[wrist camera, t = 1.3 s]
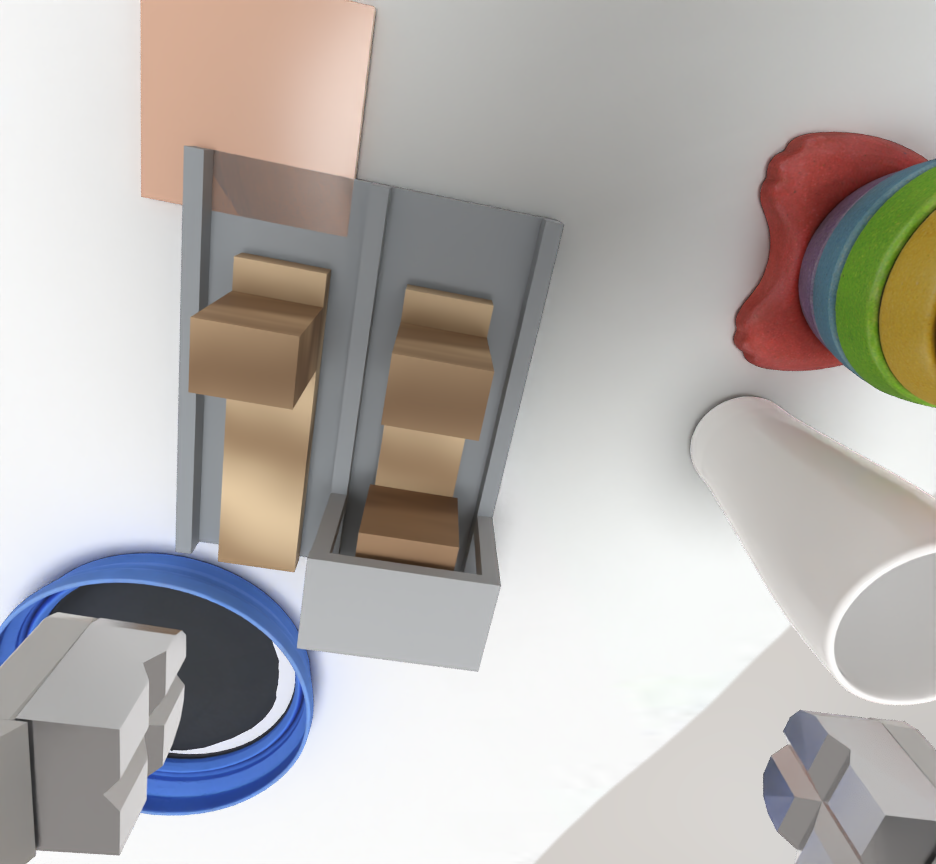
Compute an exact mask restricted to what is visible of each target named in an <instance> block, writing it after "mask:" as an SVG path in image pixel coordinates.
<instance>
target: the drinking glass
mask: <svg viewBox="0 0 936 864" xmlns="http://www.w3.org/2000/svg"><path fill="white" fill-rule="evenodd" d="M690 453H691V460H692V463H693V466H694V468H695V470H696V471H697V473H698V475H699V476H700V477H701V479H702V480H703V481H704V482H705V484H706V485H707V486H708V488H709V489H710V491H711V493H712V494H713V496H714V498H715V499H716V501H717V503H718V504H719V506H720V508H721V509H722V511H723V513H724V515H725V516H726V518H727V520H728V521H729V523H730V525H731V527H732V528H733V530H734V532H735V534H736V535H737V537H738V539H739V541H740V542H741V544H742V546H743V548H744V549H745V551H746V553H747V555H748V556H749V558H750V560H751V562H752V563H753V565H754V567H755V568H756V570H757V572H758V574H759V575H760V577H761V579H762V580H763V582H764V584H765V586H766V587H767V589H768V591H769V592H770V594H771V595H772V597H773V599H774V600H775V602H776V603H777V605H778V606H779V608H780V609H781V611H782V612H783V614H784V615H785V617H786V618H787V619H788V621H789V622H790V624H791V625H792V626H793V628H794V629H795V630H796V632H797V633H798V634H799V635H800V637H801V638H802V639H803V641H804V642H805V643H806V644H807V646H808V647H809V648H810V649H811V651H812V652H813V653H814V654H815V656H816V657H817V658H818V659H819V660H820V662H821V663H822V664H823V665H824V666H825V668H826V669H827V670H828V671H829V672H830V674H831V675H832V676H833V677H834V679H835V680H836V681H837V682H838V683H839V684H840V685H841V686H842V687H843V688H844V689H846V690H847V691H849V692H850V693H852V694H854V695H856V696H857V697H860V698H862V699H864V700H868V701H871V702H875V703H880V704H887V705H912V704H920V703H926V702H930V701H934V700H936V498H934V497H933V496H931V495H930V494H928V493H927V492H925V491H924V490H922V489H920V488H919V487H917V486H915V485H914V484H912V483H910V482H909V481H907V480H905V479H904V478H902V477H900V476H898V475H897V474H895V473H893V472H891V471H889V470H888V469H886V468H884V467H882V466H880V465H879V464H877V463H875V462H873V461H871V460H870V459H868V458H866V457H864V456H862V455H861V454H859V453H857V452H855V451H853V450H852V449H850V448H848V447H846V446H844V445H843V444H841V443H839V442H837V441H835V440H834V439H832V438H830V437H828V436H827V435H825V434H823V433H821V432H819V431H818V430H816V429H814V428H812V427H811V426H809V425H807V424H805V423H804V422H802V421H800V420H799V419H797V418H795V417H793V416H792V415H790V414H789V413H788V412H786V411H785V410H784V409H782V408H781V407H780V406H778V405H777V404H775V403H773V402H771V401H769V400H767V399H763V398H759V397H751V396H748V397H738V398H734V399H730V400H728V401H725V402H723V403H721V404H719V405H717V406H716V407H714V408H713V409H712V410H710V411H709V412H708V413H707V414H706V415H705V416H704V417H703V418H702V419H701V421H700V422H699V424H698V425H697V427H696V429H695V431H694V433H693V436H692V440H691V446H690Z"/></svg>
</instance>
